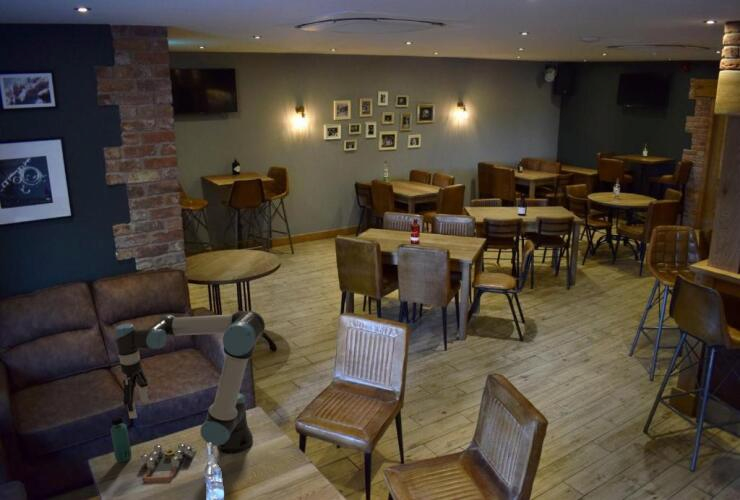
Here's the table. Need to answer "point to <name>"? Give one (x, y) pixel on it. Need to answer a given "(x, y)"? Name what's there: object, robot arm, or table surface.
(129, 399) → the robot arm
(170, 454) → the nut
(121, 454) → the beverage bottle
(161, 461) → the mat
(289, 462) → the table surface
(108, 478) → the table surface
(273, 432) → the table surface
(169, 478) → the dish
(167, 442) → the table surface
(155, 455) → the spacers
